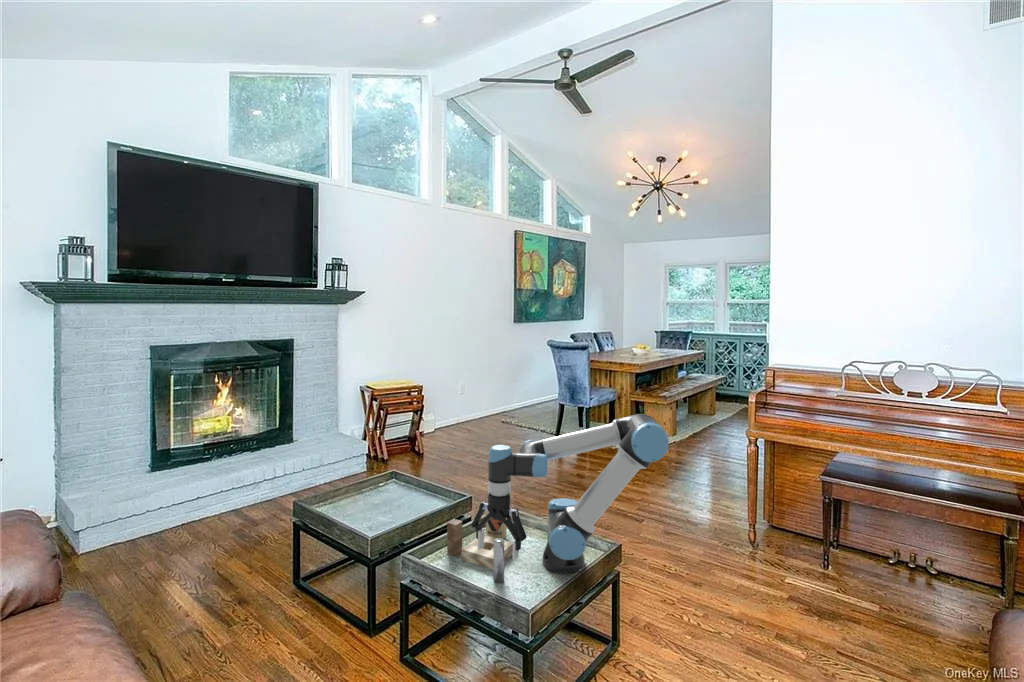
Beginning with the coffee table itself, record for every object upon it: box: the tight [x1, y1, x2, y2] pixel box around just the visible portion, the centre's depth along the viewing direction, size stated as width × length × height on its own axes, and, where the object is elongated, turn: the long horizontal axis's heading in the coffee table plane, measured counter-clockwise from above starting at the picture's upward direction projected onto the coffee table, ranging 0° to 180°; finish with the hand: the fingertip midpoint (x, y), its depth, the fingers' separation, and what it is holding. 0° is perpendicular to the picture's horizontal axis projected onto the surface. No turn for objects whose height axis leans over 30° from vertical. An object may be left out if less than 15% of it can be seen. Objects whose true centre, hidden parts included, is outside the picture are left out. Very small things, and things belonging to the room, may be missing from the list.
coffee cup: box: [484, 508, 508, 540], centre depth 210 cm, size 9×9×12 cm
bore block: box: [460, 534, 513, 571], centre depth 194 cm, size 14×14×4 cm
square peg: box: [446, 518, 463, 557], centre depth 196 cm, size 4×4×12 cm
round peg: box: [492, 538, 505, 584], centre depth 177 cm, size 4×4×14 cm
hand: (497, 553), depth 177 cm, fingers open, 13 cm apart
